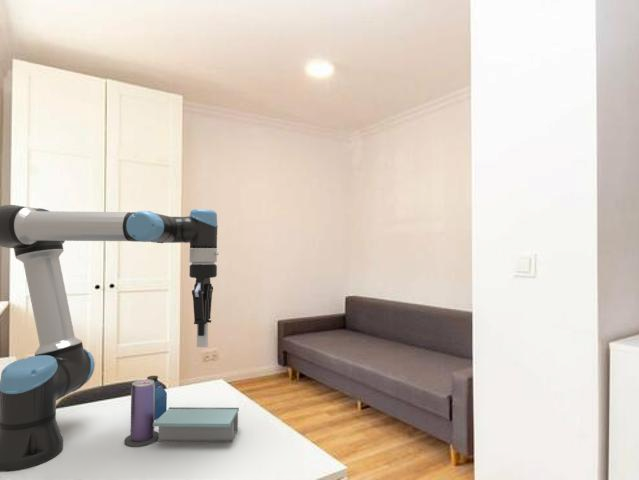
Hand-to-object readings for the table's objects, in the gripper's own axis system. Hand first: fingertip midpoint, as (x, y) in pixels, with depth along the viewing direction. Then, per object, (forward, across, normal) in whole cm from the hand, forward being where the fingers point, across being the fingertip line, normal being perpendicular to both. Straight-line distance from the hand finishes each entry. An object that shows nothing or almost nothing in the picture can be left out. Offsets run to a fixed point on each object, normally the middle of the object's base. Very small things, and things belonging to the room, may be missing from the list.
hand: (202, 346), depth 116 cm
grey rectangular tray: (+24, -2, 0) cm, 24 cm away
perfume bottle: (+25, +12, +19) cm, 33 cm away
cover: (+19, -3, 0) cm, 19 cm away
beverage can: (+24, -4, +15) cm, 29 cm away
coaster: (+24, -4, +15) cm, 29 cm away
